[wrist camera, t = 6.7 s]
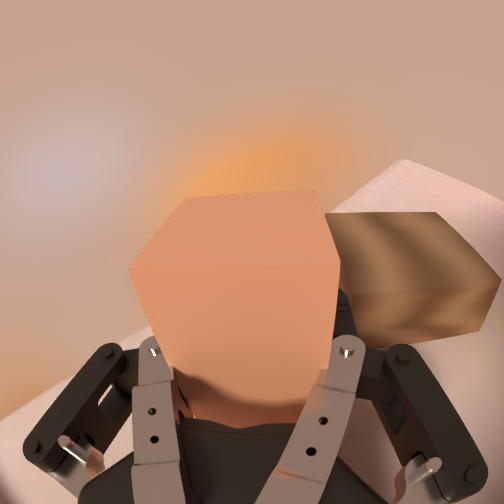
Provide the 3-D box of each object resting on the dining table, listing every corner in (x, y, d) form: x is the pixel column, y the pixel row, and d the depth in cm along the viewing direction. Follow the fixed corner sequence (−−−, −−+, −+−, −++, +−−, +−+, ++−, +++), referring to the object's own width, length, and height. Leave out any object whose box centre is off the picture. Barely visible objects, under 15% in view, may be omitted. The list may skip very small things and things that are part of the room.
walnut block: (427, 254, 27) (435, 212, 24) (479, 330, 17) (501, 279, 14) (324, 259, 28) (325, 213, 26) (343, 350, 18) (352, 294, 16)
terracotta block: (308, 382, 16) (315, 190, 10) (310, 454, 12) (340, 261, 6) (228, 382, 17) (184, 198, 11) (216, 452, 12) (127, 268, 7)
